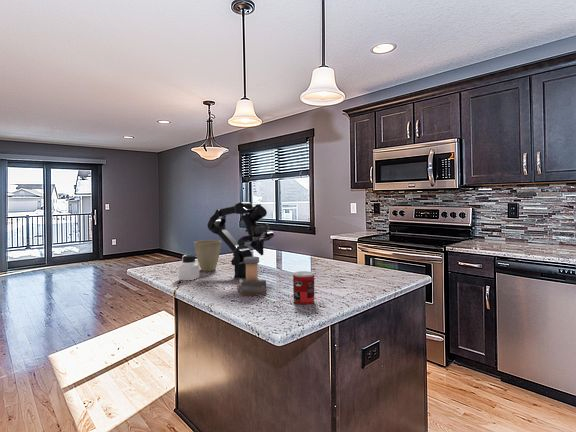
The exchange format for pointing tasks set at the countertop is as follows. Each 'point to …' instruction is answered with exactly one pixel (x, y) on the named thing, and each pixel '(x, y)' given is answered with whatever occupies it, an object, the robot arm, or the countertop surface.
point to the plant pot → (207, 253)
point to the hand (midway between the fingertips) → (262, 254)
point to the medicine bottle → (188, 268)
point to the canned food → (303, 287)
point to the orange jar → (251, 268)
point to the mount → (252, 287)
